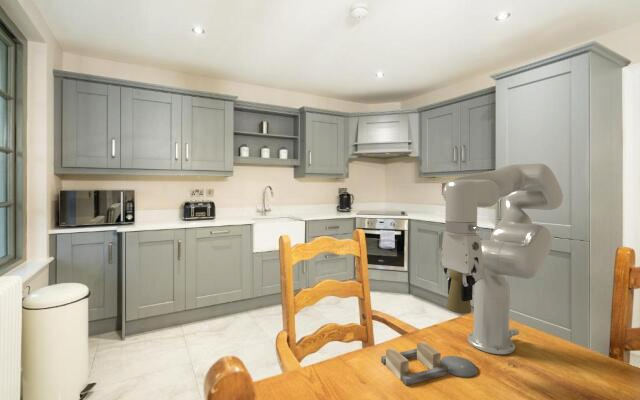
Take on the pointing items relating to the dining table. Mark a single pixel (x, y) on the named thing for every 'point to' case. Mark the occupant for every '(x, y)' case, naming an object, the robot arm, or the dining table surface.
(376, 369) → the dining table surface
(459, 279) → the pepper mill
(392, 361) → the grey and cream frame
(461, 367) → the coaster
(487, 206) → the robot arm
